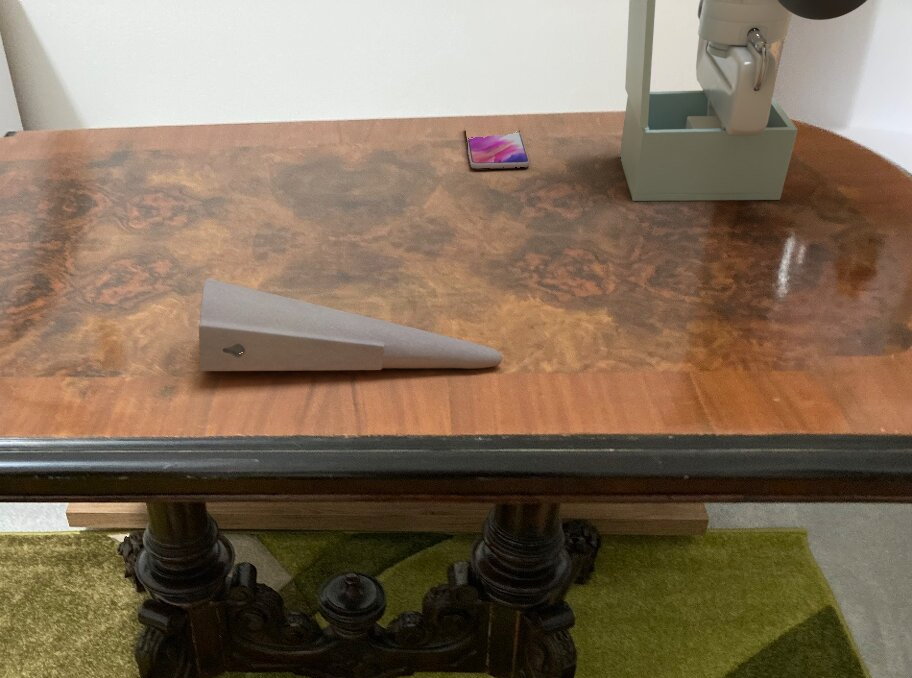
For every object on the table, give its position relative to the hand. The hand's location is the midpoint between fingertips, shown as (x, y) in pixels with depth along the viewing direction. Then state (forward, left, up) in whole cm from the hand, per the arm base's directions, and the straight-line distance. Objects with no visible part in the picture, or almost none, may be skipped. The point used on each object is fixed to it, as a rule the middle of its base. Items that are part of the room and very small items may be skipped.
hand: (718, 147), depth 105 cm
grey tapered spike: (+38, +40, -4) cm, 55 cm away
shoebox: (+2, 0, -4) cm, 4 cm away
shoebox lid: (+10, 0, +13) cm, 16 cm away
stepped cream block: (+2, 0, -2) cm, 3 cm away
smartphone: (+25, -10, -4) cm, 27 cm away
